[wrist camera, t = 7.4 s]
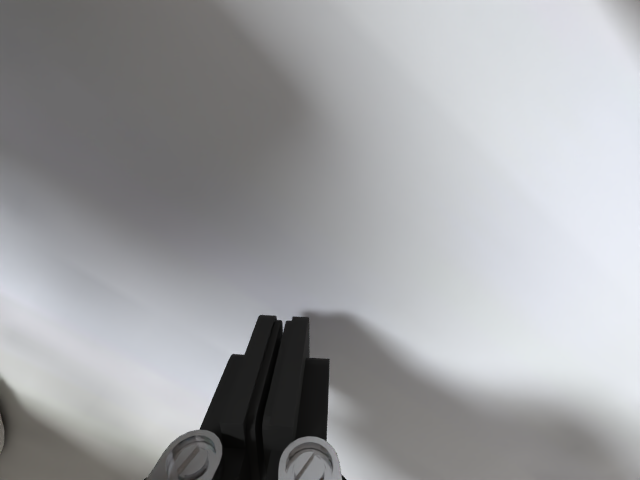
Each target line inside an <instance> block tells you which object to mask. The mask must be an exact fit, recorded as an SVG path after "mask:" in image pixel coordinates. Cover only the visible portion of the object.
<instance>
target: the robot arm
mask: <svg viewBox="0 0 640 480" xmlns="http://www.w3.org/2000/svg"><path fill="white" fill-rule="evenodd" d="M328 389H329V359H320V358H309V317H293V318H292V321H286V324H285V328H284V332H283V327H282V320H277V318H276V316H269V315H260V316H259V317H258V320H257V322H256V325H255V328H254V331H253V333H252V336H251V339H250V341H249V344H248V347H247V350H246V352H245V355H239V354H232V355H231V357H230V359H229V361H228V363H227V365H226V368H225V370H224V373H223V375H222V377H221V380H220V382H219V384H218V387H217V389H216V392H215V394H214V396H213V399H212V401H211V403H210V406H209V408H208V411H207V413H206V415H205V418H204V420H203V423H202V425H201V427H200V430H194V431H190V432H187V433H185V434H183V435H181V436H179V437H178V438H177V439H176V440H174V441H173V442H172V443H171V444H170V445H169V446H168V447H167V449H166V450H165V451H164V453H163V454H162V456H161V457H160V459H159V460H158V462H157V463H156V465H155V467H154V468H153V470H152V471H151V473H150V474H149V476H148V477H147V478H145V479H144V480H346V479H345V478H344V477H343V475H342V474H341V468H340V462H339V459H338V455H337V453H336V451H335V450H334V448H333V447H332V446H331V445H330V444H329V443H328V442H326V441H327V416H328ZM3 446H4V425H3V421H2V418H1V414H0V454H1V451H2V448H3Z"/></svg>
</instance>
